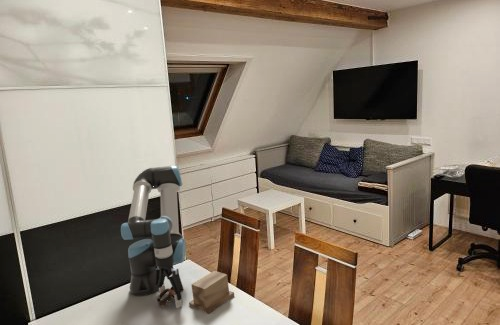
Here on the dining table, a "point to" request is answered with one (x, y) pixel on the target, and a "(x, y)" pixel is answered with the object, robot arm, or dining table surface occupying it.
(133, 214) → the robot arm
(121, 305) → the dining table surface
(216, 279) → the stand
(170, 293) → the broken clay pot
